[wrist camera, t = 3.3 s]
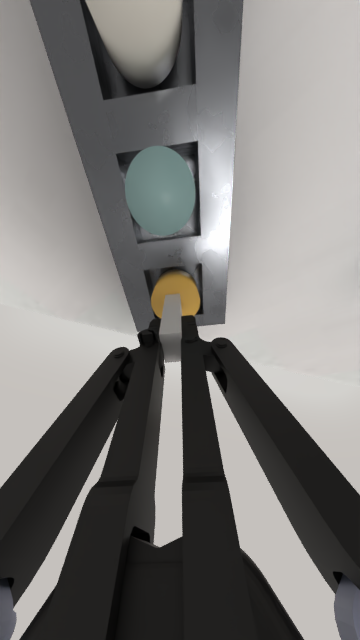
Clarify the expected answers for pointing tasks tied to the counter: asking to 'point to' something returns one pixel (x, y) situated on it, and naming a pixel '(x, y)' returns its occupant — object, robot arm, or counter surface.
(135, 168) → the button teal
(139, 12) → the button ivory
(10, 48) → the counter surface
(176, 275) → the button amber
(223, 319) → the console
